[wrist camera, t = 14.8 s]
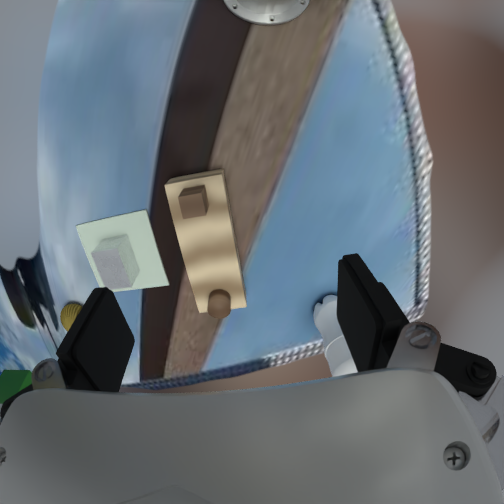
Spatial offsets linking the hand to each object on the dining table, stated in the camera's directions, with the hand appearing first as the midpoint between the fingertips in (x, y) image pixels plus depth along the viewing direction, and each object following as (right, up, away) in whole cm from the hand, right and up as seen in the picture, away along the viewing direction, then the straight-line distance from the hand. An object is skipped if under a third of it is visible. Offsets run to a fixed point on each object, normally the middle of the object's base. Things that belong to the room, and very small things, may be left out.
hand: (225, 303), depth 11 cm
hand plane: (-6, +4, +35) cm, 36 cm away
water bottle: (+16, -8, +42) cm, 46 cm away
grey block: (-21, +2, +35) cm, 41 cm away
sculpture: (-35, -11, +42) cm, 56 cm away
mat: (-21, +2, +35) cm, 41 cm away
